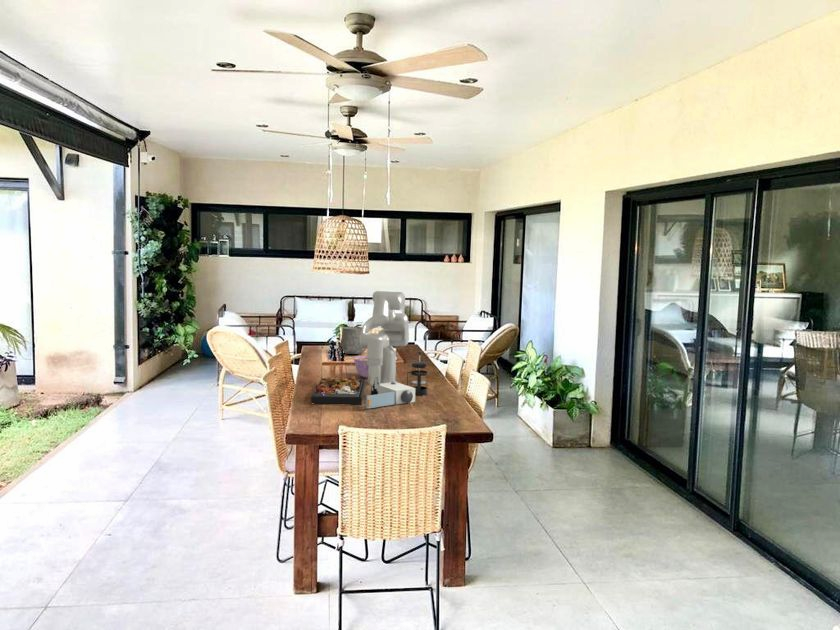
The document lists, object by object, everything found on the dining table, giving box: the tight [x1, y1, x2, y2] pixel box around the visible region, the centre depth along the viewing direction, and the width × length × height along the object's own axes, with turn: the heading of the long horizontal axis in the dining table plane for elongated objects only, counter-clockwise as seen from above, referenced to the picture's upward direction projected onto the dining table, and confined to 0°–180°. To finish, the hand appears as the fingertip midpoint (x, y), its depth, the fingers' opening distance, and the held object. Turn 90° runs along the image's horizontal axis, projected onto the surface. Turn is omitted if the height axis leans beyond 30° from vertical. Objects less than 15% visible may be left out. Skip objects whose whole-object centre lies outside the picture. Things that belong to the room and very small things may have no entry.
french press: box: [406, 350, 429, 397], centre depth 337 cm, size 12×9×23 cm
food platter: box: [310, 375, 366, 406], centre depth 332 cm, size 45×25×10 cm, turn 3°
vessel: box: [339, 326, 367, 355], centre depth 462 cm, size 22×22×20 cm
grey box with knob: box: [378, 381, 416, 406], centre depth 323 cm, size 20×12×8 cm, turn 37°
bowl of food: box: [353, 355, 369, 379], centre depth 380 cm, size 20×20×12 cm
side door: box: [365, 391, 397, 409], centre depth 306 cm, size 17×2×6 cm, turn 129°
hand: (374, 398), depth 308 cm, fingers closed
